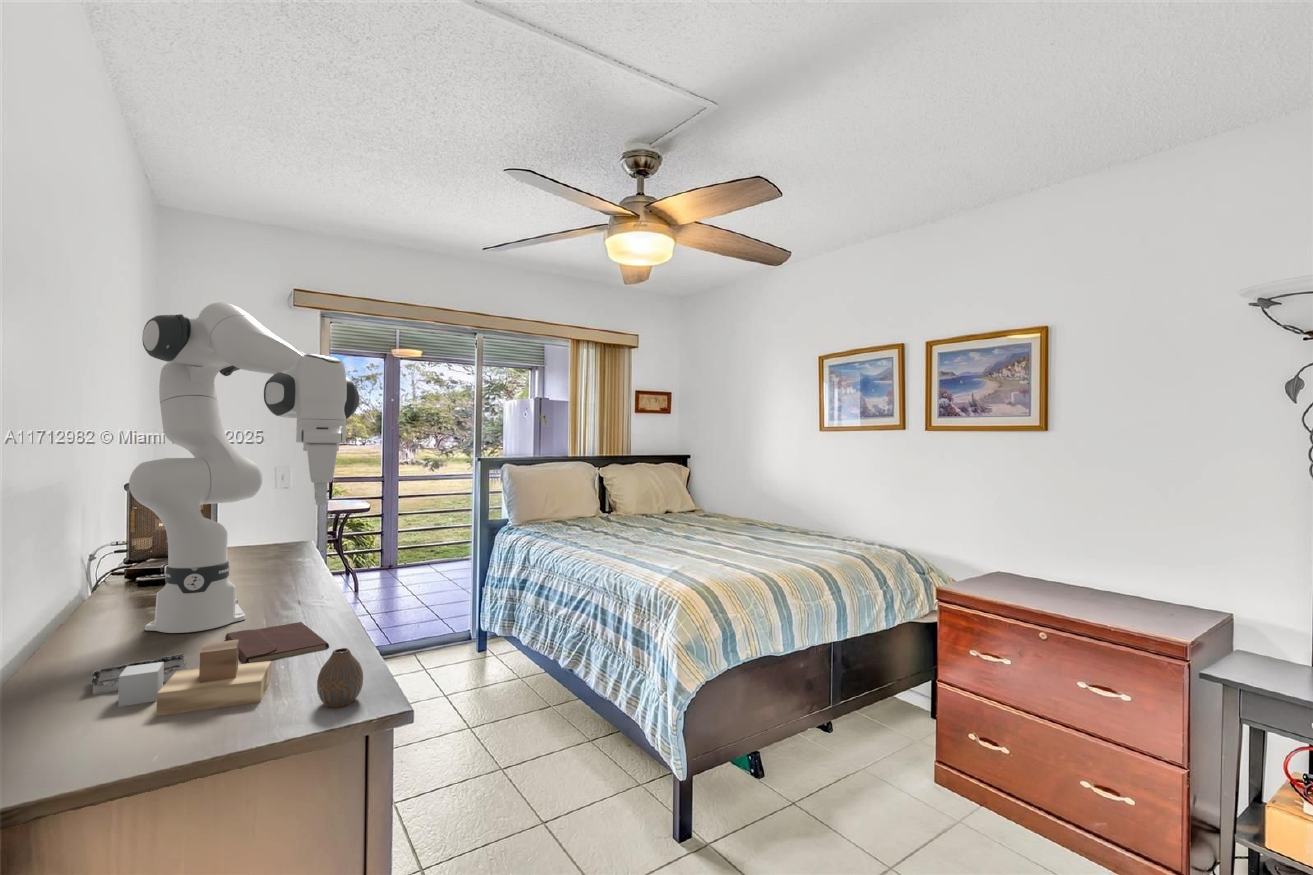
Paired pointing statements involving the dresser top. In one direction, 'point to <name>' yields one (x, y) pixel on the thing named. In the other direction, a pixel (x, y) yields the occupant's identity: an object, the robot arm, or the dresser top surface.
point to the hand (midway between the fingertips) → (320, 502)
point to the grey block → (140, 683)
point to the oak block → (213, 689)
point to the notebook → (276, 642)
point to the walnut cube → (218, 661)
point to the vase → (340, 679)
